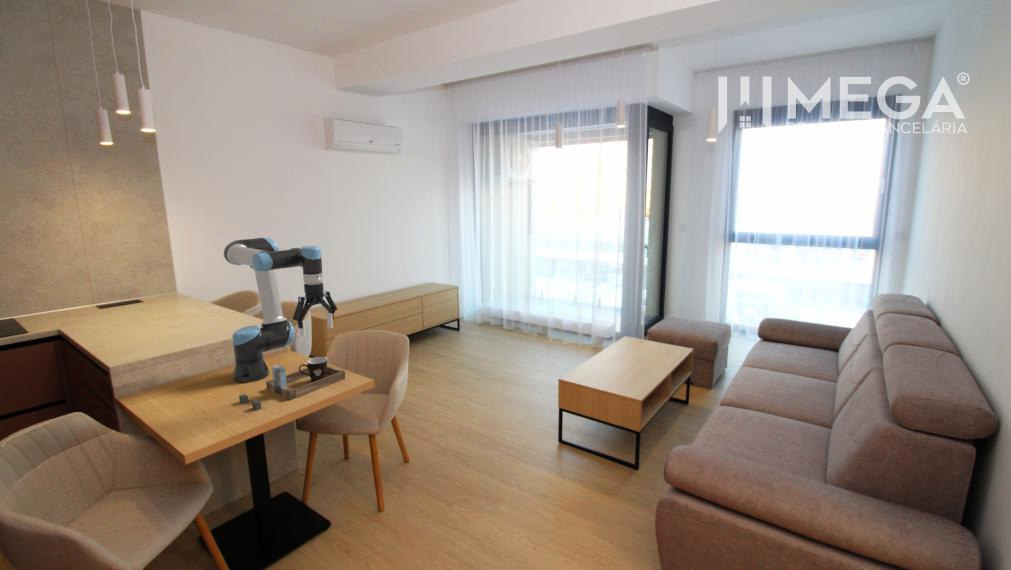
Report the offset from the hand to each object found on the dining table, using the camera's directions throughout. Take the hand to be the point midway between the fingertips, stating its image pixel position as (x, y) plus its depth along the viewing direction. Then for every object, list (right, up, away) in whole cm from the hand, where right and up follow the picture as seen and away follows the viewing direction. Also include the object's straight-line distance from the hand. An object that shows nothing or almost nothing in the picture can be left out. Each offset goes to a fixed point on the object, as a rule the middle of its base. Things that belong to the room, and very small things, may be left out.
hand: (317, 331), depth 205 cm
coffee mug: (-7, -25, +16) cm, 30 cm away
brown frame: (-9, -25, +13) cm, 30 cm away
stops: (-24, -30, -9) cm, 39 cm away
